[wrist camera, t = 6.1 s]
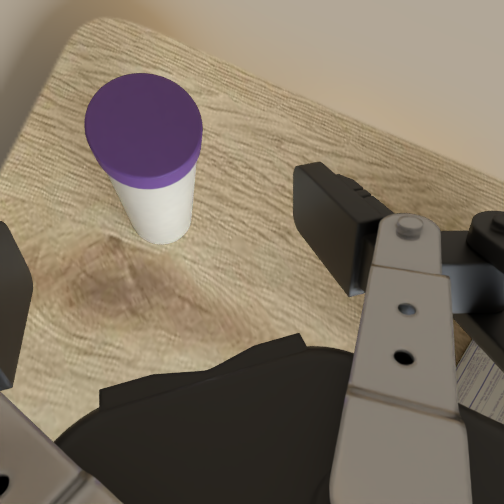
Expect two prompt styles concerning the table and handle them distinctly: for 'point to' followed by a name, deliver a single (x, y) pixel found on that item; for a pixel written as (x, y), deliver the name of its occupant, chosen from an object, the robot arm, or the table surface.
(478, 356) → the medicine box
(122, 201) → the glue stick
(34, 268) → the table surface
